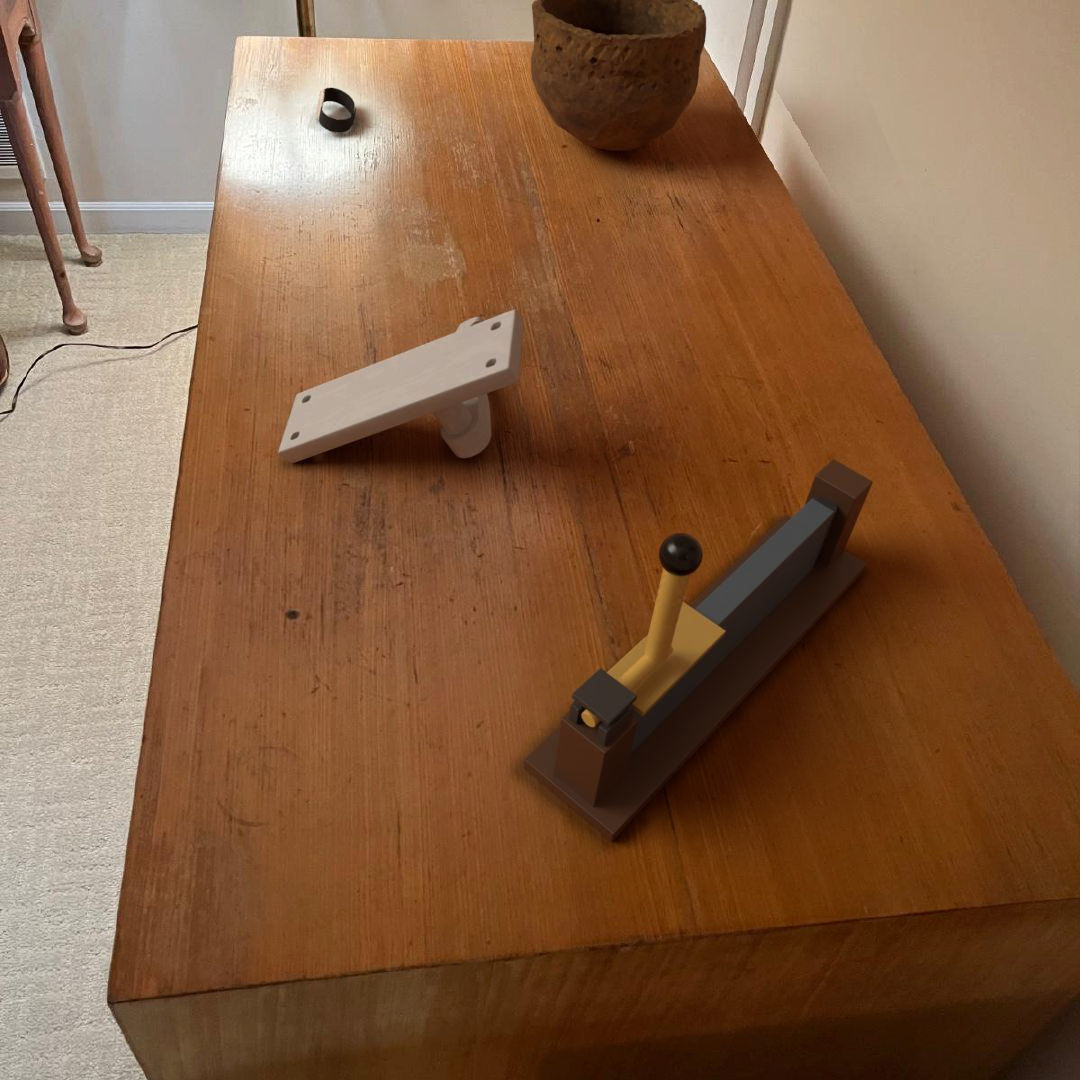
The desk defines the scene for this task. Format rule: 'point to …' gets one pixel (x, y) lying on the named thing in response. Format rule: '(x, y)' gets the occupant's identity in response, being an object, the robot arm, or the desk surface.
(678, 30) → the bowl
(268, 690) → the desk surface
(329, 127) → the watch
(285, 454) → the handle
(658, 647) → the bolt
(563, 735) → the sliding lever mechanism
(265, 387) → the desk surface
